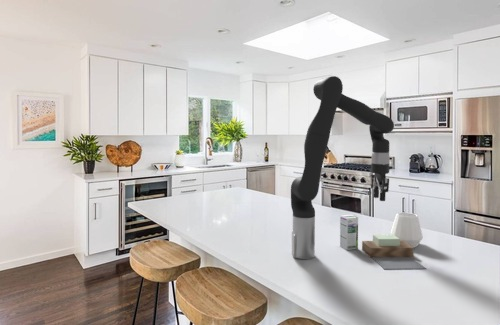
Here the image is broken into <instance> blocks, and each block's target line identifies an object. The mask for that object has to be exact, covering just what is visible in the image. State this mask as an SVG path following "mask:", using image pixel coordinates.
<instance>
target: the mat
mask: <svg viewBox="0 0 500 325" xmlns="http://www.w3.org/2000/svg"><path fill="white" fill-rule="evenodd" d="M372 259H373V260H374V261H375V262H376V263H377V264H378V265H379V266H380V267H381V268H382V269H383V270H427V267H426V266H425V265H423V264H421V263H420V262H418V261H417V260H416V259H415V258H414V257H373V258H372Z"/></svg>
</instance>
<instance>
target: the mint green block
mask: <svg viewBox="0 0 500 325" xmlns="http://www.w3.org/2000/svg"><path fill="white" fill-rule="evenodd" d="M372 241H373V242H374V243H375V244H377V245H378V246H400V239H399V238H398V237H396V236H395V235H394V234H391V233H389V234H372Z"/></svg>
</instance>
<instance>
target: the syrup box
mask: <svg viewBox="0 0 500 325" xmlns="http://www.w3.org/2000/svg"><path fill="white" fill-rule="evenodd" d="M339 246H340V247H341V248H342V249H343V250H346V251H349V250H358V248H359V217H358V216H356V215H354V214H343V215H340V216H339Z"/></svg>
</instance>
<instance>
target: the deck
mask: <svg viewBox="0 0 500 325" xmlns="http://www.w3.org/2000/svg"><path fill="white" fill-rule="evenodd" d="M414 248H415V247H411V246H410V245H409V244H407V243H406V242H404V241H400V246H378V245H377V244H375V243H374V242H373V240H362V242H361V250H362V251H363V253H365V254H366V256H368V257H369V258H371V259H373V257H412V258H414Z"/></svg>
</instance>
